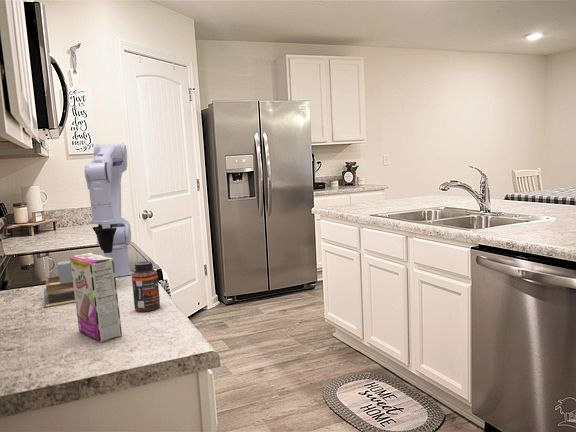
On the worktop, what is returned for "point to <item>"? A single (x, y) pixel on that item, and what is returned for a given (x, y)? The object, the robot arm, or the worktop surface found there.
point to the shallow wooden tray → (57, 287)
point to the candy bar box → (96, 296)
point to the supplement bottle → (145, 287)
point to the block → (65, 272)
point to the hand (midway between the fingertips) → (106, 251)
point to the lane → (59, 299)
